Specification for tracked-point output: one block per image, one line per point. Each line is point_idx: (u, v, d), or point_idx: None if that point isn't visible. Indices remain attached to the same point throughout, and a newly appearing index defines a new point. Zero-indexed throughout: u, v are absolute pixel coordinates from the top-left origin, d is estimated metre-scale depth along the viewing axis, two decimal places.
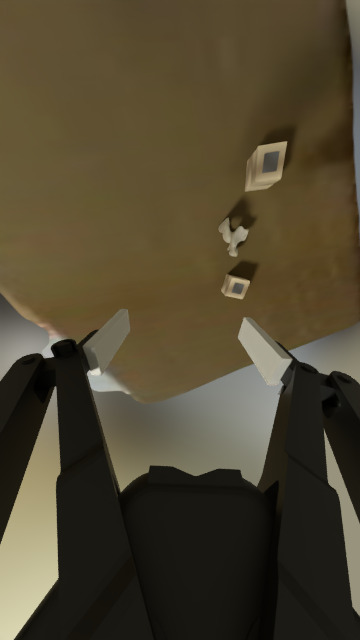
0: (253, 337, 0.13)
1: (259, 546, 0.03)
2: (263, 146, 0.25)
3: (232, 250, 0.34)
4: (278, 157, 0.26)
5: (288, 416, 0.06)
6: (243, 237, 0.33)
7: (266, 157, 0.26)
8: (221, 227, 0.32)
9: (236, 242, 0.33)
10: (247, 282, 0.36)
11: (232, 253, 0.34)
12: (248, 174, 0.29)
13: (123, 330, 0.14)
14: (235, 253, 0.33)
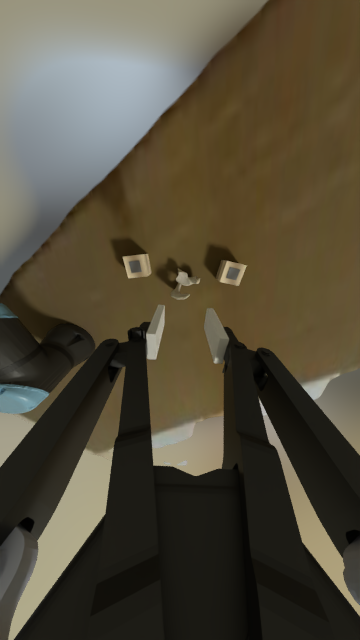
0: (210, 324, 0.15)
1: (234, 549, 0.03)
2: (128, 274, 0.35)
3: None
4: (131, 261, 0.33)
5: (233, 395, 0.07)
6: (184, 275, 0.35)
7: (133, 271, 0.34)
8: None
9: (188, 281, 0.36)
10: (227, 263, 0.33)
11: (197, 283, 0.36)
12: None
13: (162, 323, 0.16)
14: (197, 281, 0.35)
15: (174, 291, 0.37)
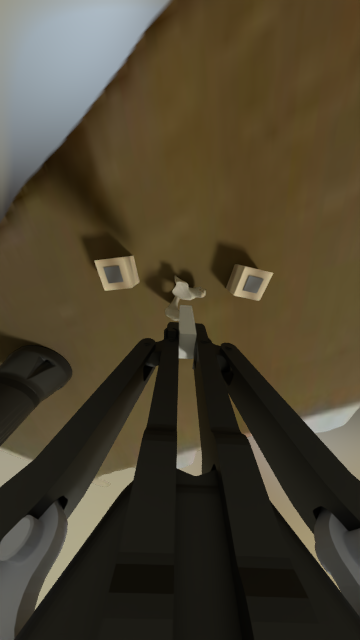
0: None
1: (221, 562, 0.03)
2: (104, 285, 0.24)
3: (198, 296, 0.26)
4: (108, 266, 0.23)
5: (204, 393, 0.07)
6: (184, 286, 0.25)
7: (110, 281, 0.24)
8: None
9: (190, 295, 0.26)
10: (246, 270, 0.23)
11: (202, 296, 0.26)
12: None
13: None
14: (202, 295, 0.25)
15: (170, 307, 0.27)
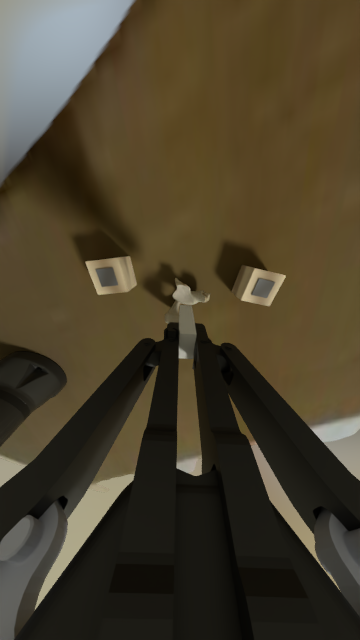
0: None
1: (221, 562, 0.03)
2: (97, 289, 0.22)
3: (201, 301, 0.24)
4: (100, 268, 0.20)
5: (204, 392, 0.07)
6: (185, 289, 0.23)
7: (104, 284, 0.21)
8: None
9: (192, 299, 0.23)
10: (255, 273, 0.20)
11: None
12: None
13: None
14: (206, 299, 0.23)
15: (170, 313, 0.25)
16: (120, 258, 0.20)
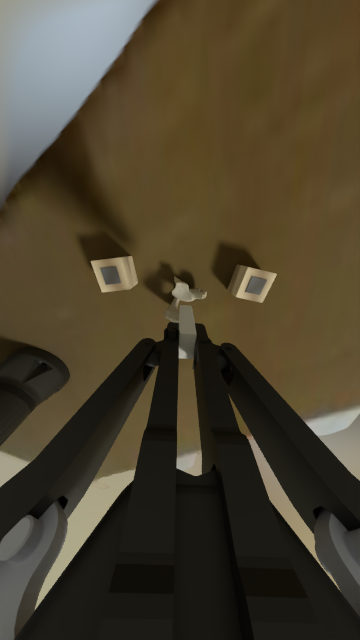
0: None
1: (221, 562, 0.03)
2: (101, 287, 0.23)
3: None
4: (104, 267, 0.22)
5: (204, 393, 0.07)
6: (184, 287, 0.24)
7: (108, 282, 0.23)
8: None
9: (190, 296, 0.25)
10: (249, 271, 0.22)
11: (202, 298, 0.25)
12: None
13: None
14: (203, 296, 0.24)
15: (169, 309, 0.26)
16: (123, 258, 0.22)
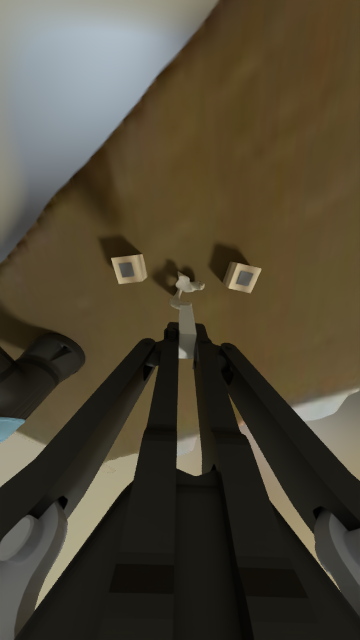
0: None
1: (221, 562, 0.03)
2: (118, 279, 0.29)
3: (198, 289, 0.31)
4: (122, 263, 0.27)
5: (204, 392, 0.07)
6: (185, 280, 0.30)
7: (124, 275, 0.28)
8: None
9: (190, 287, 0.30)
10: (238, 266, 0.27)
11: None
12: None
13: None
14: (201, 287, 0.30)
15: (173, 298, 0.31)
16: (137, 255, 0.27)
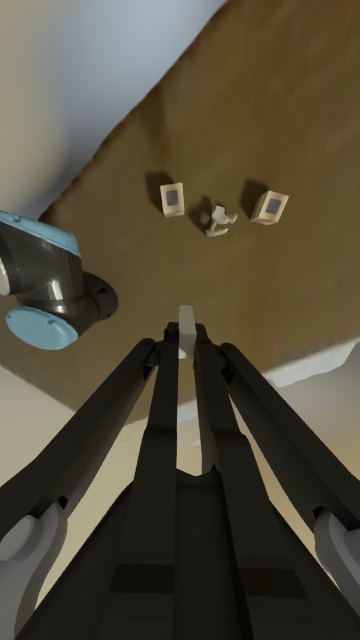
0: None
1: (221, 562, 0.03)
2: (163, 208, 0.33)
3: (231, 220, 0.35)
4: (169, 191, 0.32)
5: (204, 392, 0.07)
6: (221, 210, 0.34)
7: (169, 203, 0.33)
8: None
9: (225, 218, 0.34)
10: (269, 194, 0.32)
11: (234, 220, 0.35)
12: (174, 215, 0.37)
13: None
14: (235, 217, 0.34)
15: (209, 230, 0.36)
16: None
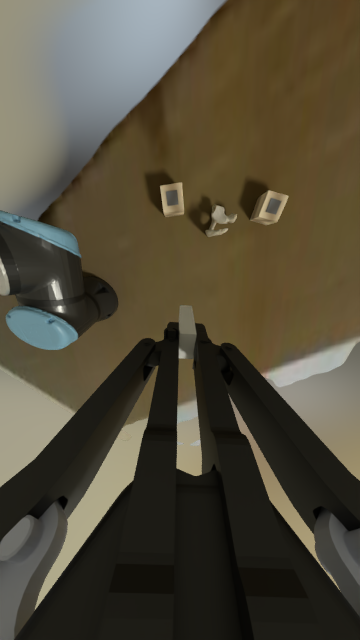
0: None
1: (222, 562, 0.03)
2: (163, 208, 0.33)
3: (231, 220, 0.35)
4: (169, 191, 0.32)
5: (204, 392, 0.07)
6: (221, 210, 0.34)
7: (169, 203, 0.33)
8: (211, 235, 0.36)
9: (225, 217, 0.34)
10: (269, 194, 0.32)
11: (233, 220, 0.35)
12: (174, 214, 0.37)
13: None
14: (235, 217, 0.34)
15: None
16: (181, 184, 0.32)
